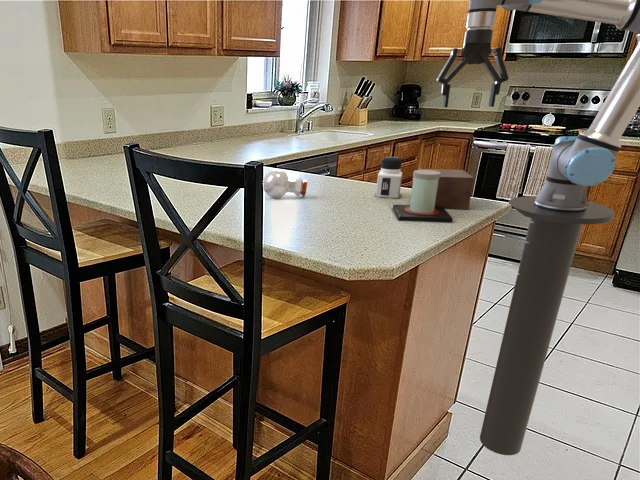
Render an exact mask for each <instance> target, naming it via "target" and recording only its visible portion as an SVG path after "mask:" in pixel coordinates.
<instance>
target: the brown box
mask: <svg viewBox="0 0 640 480" xmlns="http://www.w3.org/2000/svg"><path fill="white" fill-rule="evenodd" d="M419 170H433V171H438V172H440V173H441V174H440V178H439V182H438V189H437V195H436V202H435V206H442V207H443V208H444V209H445V210H469V209H470V203H471V197H472V191H473V187H474V180H475V177H474V176H472V175H471V174H470V173H468V172H467V171H466V170H464V169H449V168H448V169H446V168H445V169H443V168H419Z"/></svg>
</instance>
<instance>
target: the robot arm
mask: <svg viewBox="0 0 640 480" xmlns="http://www.w3.org/2000/svg"><path fill="white" fill-rule="evenodd" d="M498 6H500V8H502V9H503V10H505V11H520V12H529V13H536V14H543V15H549V16H555V17H563V18H569V19H575V20H576V19H577V20H582V21H589V22H596V23H602V24H609V25H614V26H615V28H616V29H617V30H622V31H628V32H632V33H636V35H635V37H636V41H637V45H636V47H635V49H634V50H633V52H632V54H631V56H630V57H629V59H628V61H627V62H626V64H625V66H624V67H623V69H622V71H621V72H620V74H619V76H618V77H617V79H616V81H615V83H614V85H613V86H612V88H611V90H610V91H609V93H608V95H607V96H606V98H605V100H604V102H603V104H602V105H601V107H600V109H599V111H598V112H597V114H596V116H595V117H594V119H593V121H592V123H591V124H590V126H589V127H588V129H586V130H584V131H582V132H580V133H579V134H578V135H577V136H576V135H575V136H571V135H570V136H559V137H557V138H555V142H554V144H553V146H552V153H551V157H550V161H549V166H548V169H547V174H546V179H545V182H544V184H543V186H542V187H541V189H540V190H539V192H538V194H537V195H536V196H537V197H536V200H535V203H534V204H535V206H537V207H540V208H543V209H547V210H553V211H560V212H582V211H585V210H586V207H587V205H588V204H587V202H588V200H587V199H588V198H587V189H586V187H593V186H596V185H599V184H601V183H603V182H605V181H606V180H607V179H608V178H609V177H610V176H611V175H612V173H613V172H614V170H615V167H616V156H617V155H618V153H619V151H620V149H621V148H622V144H621V141H620V139H621V137H622V136H623V134H624V132H625V131H626V129H627V127H628V126H629V124H630V122H631V121H632V119H633V118H634V116H635V114H636V113H637V112H638V109H639V108H640V0H469V2H468V10H467V17H466V23H465V28H466V29H467V30H466V31H465V32H464V39H463V46H462V48H461V49H460V48H457V47H453V48H452V49H451V51H450V55H449V58H448V59H447V61H446V62H445V63H444V66H443V67H442V69H441V70H440V73H439V74H438V76H437V78H436V82H438V83H440V84H441V93H440V95H441V96H443V103H442V108H448V106H449V100H450V99H449V98H450V92H451V91H450V90H451V84H450V82H451V81H452V79H454V77H455V76H456V75H457V74H458V73H459V72H460V71H461V70H462V69H463V68H464V67H465V66H466V65H481V64H482V66H484V68H485V69H486V71H487V72H488V74H489V76H490V77H491V78H492V80H493V82H494V83H491V89H490V93H489V100H488V107H490V108H494V107H495V103H496V97H497V96H498V95H500V91H501V86H502V84H503V83H504V82H507V81H508V80H509V79H510V78H509V74H508V72H507V71H508V70H507V68H506V64H505V62H504V58H503V55H502V54H503V52H502V51H503V48H502V47H501V46H497V47H494V48H492V40H493V35H494V30H493V29H492V28H495V22H496V14H497V9H498ZM491 54H492V56H493V57H494V61H495V63H496V66H497V69H498V72H499V73H498V72H497V70H496V69H495V68H494V66H493V64H492V62H491V61H490V59H489V56H490V55H491ZM459 55H461V57H462V59H460V61H459V62H458V63H457V65H456V66H455V67H454V68H453V69H452V70H451V71H450V72H449V73H448V71H449V70H450V69H451V67H452V65H453V63H454V62H455V60H456V58H457V57H459ZM447 74H448V75H447Z"/></svg>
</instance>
